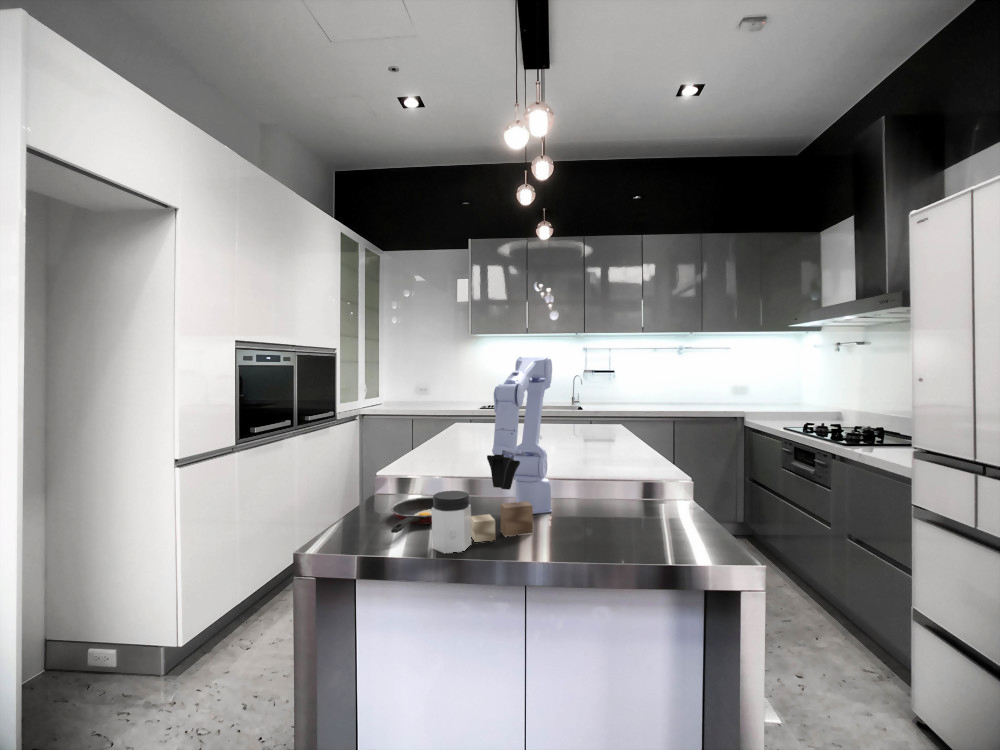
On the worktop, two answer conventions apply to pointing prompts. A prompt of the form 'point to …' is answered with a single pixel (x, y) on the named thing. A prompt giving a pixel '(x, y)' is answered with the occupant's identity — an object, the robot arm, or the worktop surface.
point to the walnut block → (516, 518)
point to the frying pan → (412, 512)
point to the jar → (451, 521)
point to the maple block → (482, 528)
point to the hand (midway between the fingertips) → (501, 488)
